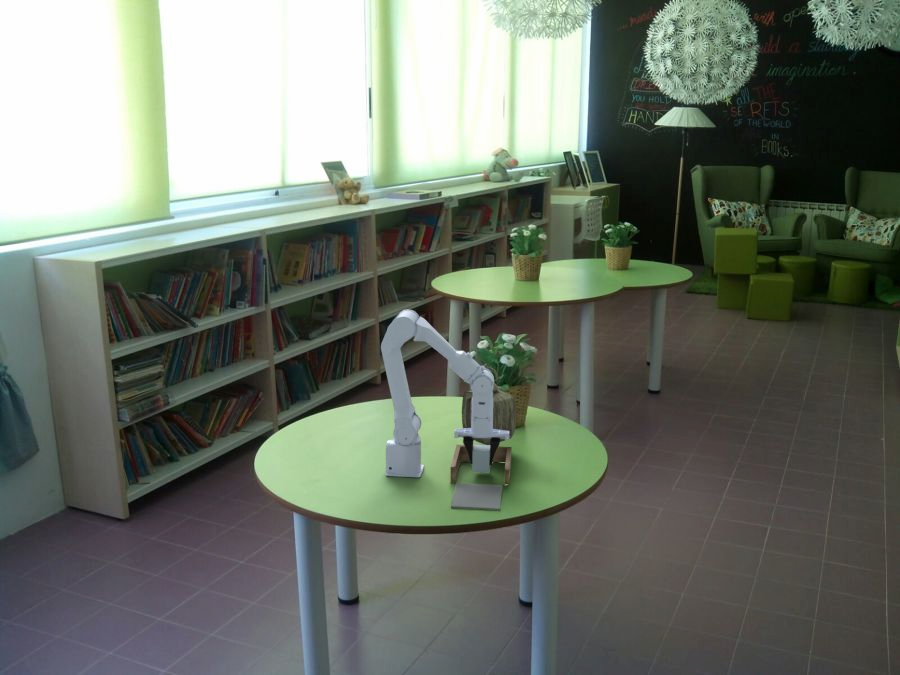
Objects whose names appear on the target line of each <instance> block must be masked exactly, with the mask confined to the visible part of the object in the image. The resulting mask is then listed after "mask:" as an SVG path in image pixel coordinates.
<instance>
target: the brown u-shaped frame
mask: <svg viewBox="0 0 900 675" xmlns="http://www.w3.org/2000/svg"><path fill="white" fill-rule="evenodd" d="M474 445H475V444H473V446H474ZM463 461H470V459H469V455H468V452H467V450H466V447H465V446H464V444H456V445H455V449H454V453H453V457H452V460H451V463H450V477H449V478H450V483H451V484H456V481H457V477H458V473H459V469H458V468H460V465H461V462H463ZM493 462H506V463H504V464H505V465H504V481H503V482H504V483H503V484H504V485H505V484H509V485H510V480H509V479H511V470H510V469H511V467H512V446H500V445H499V446H498V448H497V450H496V452H495V454H494V457H493ZM459 464H460V465H459Z"/></svg>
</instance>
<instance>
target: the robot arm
mask: <svg viewBox="0 0 900 675" xmlns="http://www.w3.org/2000/svg"><path fill="white" fill-rule="evenodd" d="M413 337H414V338H413ZM412 338H413V341H414V342H425V343H427V344H428V345H429V346H430V347H431V348H433V350H436V351H437V352H438V353H439V354H440V355H442V357H444V358H445V359H447V360H448V367H449V368H450V370H452V371H453V372H454V373H455V374H457V376H458V377H459V378H460V379H462V380H463V381H464V382H466V384H469V385H470V391H472V392H473V398H472V414H471V428H464V429H463V428H455V429H454V439H459V438H463V439H462V443H463V444H462V445H464V446H465V447H466V450H467V452H468V455H469V459H470V462H469V463H470V465H472V458H473V445H474V441H473V438H489V439H491V441H490V466H493V463H492V462H493V457H494V454H495V452H496V450H497V448H498V446H500V443H501V442H500V439H505V441H510V439H509V431H504V430H498V429H493V388H494V386H493V385H494V383H495V382H494V380H495V377H494V375H493V373H492V372H491V370H490V369H486V368H485V367H486V366H484V365H480V364H479V363H478V362H477V361H476V360H475V359H474V358H472V354H471V353H470V352H469V351H467V352H466V351H464V350H457V349H455V348H454V346H452V345H451V344H450V343H449V342H448V341H447V339H445V338H444V337H443V336H442V335H441V334H440V333H439V332H438V331H437V329H435V328H434V327H433V326H432V325H431V324H430V323H429V322H428V320H426V319H425V318H424V317H422V316H419V314H418V313H417V312H416V311H415V310H412V309H403V310H402V311H400V312H398V314H397V315H396V316H395V317H394V319H392V322H391V323H390V324H389V325H388V326H387V330H386V332H385V334H384V337H383V339H382V342H381V343H380V344H381V345H380V351H381V355H382V359H383V363H384V370H385V373H386V378H387V382H388V386H389V391H390V396H391V400H392V406H393V423H394V428H393V432H392V433H393V439H388V440H387V441H386V444H385V473H384V474H385V476H387V477H403V478H405V477H407V478H421V476H422V474H423V470H424V468H425V465H424V464H422V438H421V436H420V434H419V431H420V429H421V427H422V419H421V418H420V416H419V415H418V414H417V411H416V406H414V405H413V402H412V397H411V393H410V389H409V388H410V387H409V384H408V378H407V374H406V369H405V365H404V359H403V355H402V354H403V353H402V350H401V348H402V347H403V345H404V344H405V343H406V342H407V341H409V340H410V339H412Z"/></svg>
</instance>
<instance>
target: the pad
mask: <svg viewBox="0 0 900 675" xmlns="http://www.w3.org/2000/svg"><path fill="white" fill-rule="evenodd" d="M502 493H503V484H487V483H486V484H485V483H484V484H483V483H466V482H463V483H462V482H455V489H454V492H453V496H452V500H451V505H450V508H451V509H461V510H462V509H463V510H464V509H465V510H481V509H486V511H500V510H501V501H502Z"/></svg>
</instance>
